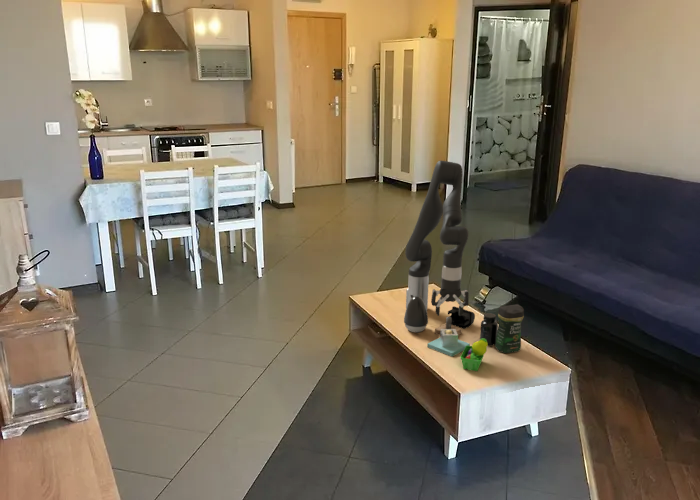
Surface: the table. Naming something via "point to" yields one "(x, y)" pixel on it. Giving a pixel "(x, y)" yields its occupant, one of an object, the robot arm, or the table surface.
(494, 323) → the supplement bottle
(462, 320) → the end cap
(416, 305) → the dark grey rounded cone
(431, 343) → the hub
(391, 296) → the table surface
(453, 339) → the collar
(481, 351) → the fruit basket
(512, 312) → the coffee jar
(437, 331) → the stand
